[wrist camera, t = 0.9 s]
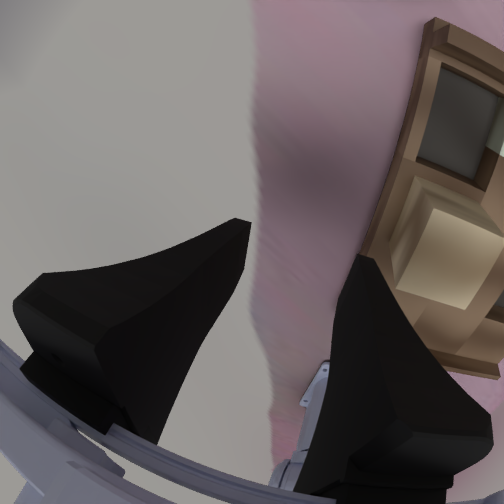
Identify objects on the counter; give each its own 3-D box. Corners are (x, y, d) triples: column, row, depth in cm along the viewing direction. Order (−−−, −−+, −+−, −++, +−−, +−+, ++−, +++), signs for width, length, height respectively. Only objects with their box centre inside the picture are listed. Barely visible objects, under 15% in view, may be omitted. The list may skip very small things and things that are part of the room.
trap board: (489, 347, 21) (500, 393, 17) (336, 306, 24) (328, 358, 20) (597, 140, 9) (638, 164, 4) (424, 24, 11) (452, 5, 7)
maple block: (448, 263, 16) (464, 309, 13) (388, 242, 17) (395, 288, 14) (478, 201, 14) (507, 239, 10) (414, 175, 15) (433, 208, 11)
